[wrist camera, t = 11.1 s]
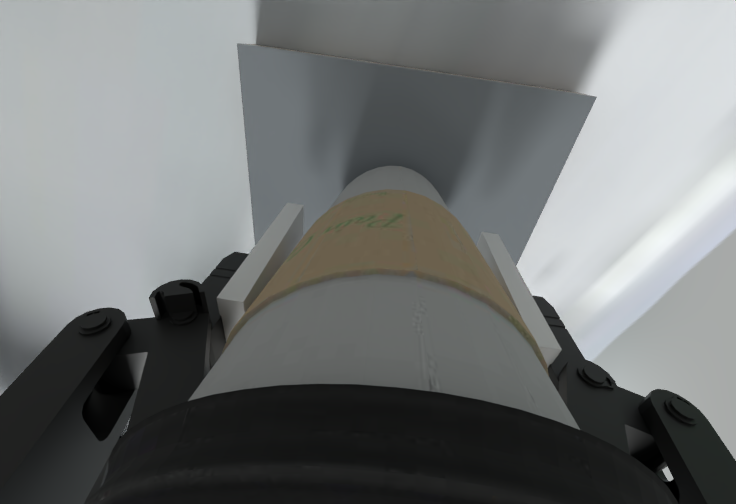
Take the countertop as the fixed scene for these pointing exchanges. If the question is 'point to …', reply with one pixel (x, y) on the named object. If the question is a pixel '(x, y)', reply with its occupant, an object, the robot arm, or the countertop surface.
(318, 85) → the trivet
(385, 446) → the coffee cup
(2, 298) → the countertop surface
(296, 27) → the countertop surface
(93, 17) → the countertop surface
